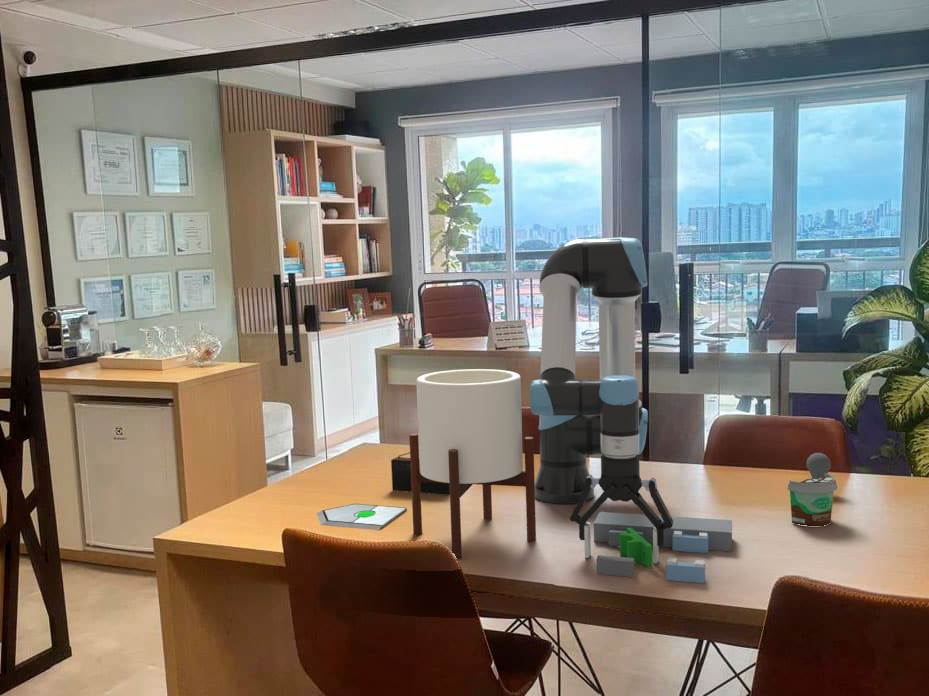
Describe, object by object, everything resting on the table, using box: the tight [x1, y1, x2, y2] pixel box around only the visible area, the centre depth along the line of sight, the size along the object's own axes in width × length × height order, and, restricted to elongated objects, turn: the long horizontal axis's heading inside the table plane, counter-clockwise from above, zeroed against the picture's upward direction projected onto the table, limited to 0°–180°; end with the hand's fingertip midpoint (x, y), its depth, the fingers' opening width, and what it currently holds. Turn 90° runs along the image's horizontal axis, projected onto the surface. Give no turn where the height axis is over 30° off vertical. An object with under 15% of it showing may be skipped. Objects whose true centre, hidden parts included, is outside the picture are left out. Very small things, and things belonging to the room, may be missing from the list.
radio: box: [390, 451, 450, 496], centre depth 220 cm, size 19×3×15 cm, turn 68°
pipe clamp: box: [619, 528, 653, 569], centre depth 169 cm, size 11×4×5 cm, turn 9°
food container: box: [787, 473, 838, 527], centre depth 185 cm, size 12×6×10 cm, turn 118°
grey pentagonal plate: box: [316, 503, 408, 531], centre depth 203 cm, size 17×22×2 cm
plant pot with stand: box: [408, 368, 537, 561], centre depth 183 cm, size 22×22×36 cm
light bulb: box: [806, 452, 832, 479], centre depth 208 cm, size 6×6×10 cm
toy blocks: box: [593, 511, 733, 584], centre depth 170 cm, size 28×26×4 cm
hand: (621, 558), depth 169 cm, fingers open, 13 cm apart
